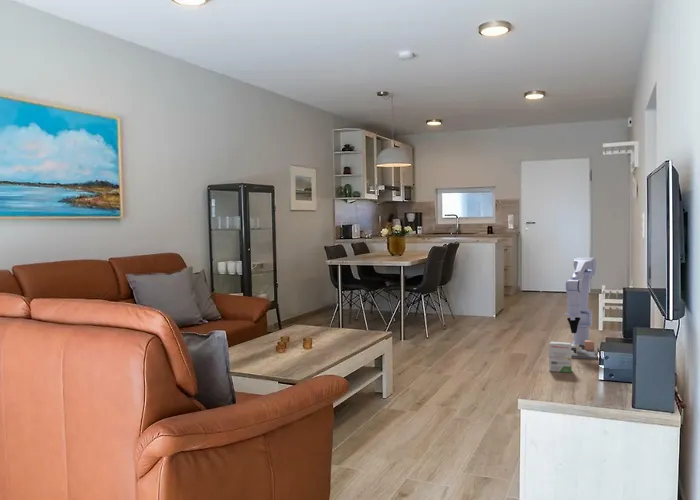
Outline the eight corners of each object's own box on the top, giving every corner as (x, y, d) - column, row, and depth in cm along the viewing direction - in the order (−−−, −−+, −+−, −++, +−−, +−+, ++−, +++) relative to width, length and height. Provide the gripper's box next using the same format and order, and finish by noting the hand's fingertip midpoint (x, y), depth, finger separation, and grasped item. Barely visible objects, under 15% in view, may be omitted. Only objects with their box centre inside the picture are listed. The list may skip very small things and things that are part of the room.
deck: (566, 350, 279) (566, 342, 278) (598, 352, 273) (598, 344, 272) (563, 357, 266) (563, 348, 266) (597, 359, 260) (597, 350, 260)
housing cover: (567, 349, 277) (567, 342, 277) (579, 350, 275) (579, 343, 275) (566, 351, 271) (566, 345, 271) (578, 352, 269) (578, 346, 269)
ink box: (571, 370, 244) (571, 342, 243) (570, 373, 239) (570, 344, 239) (550, 368, 247) (550, 340, 247) (549, 371, 243) (548, 343, 242)
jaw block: (585, 350, 279) (585, 339, 279) (594, 350, 277) (594, 340, 277) (584, 351, 276) (584, 341, 275) (593, 352, 274) (593, 342, 274)
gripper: (566, 302, 286) (566, 329, 287) (563, 306, 273) (563, 335, 274) (581, 302, 283) (581, 330, 284) (579, 307, 270) (579, 336, 271)
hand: (573, 332), depth 279 cm, fingers closed
